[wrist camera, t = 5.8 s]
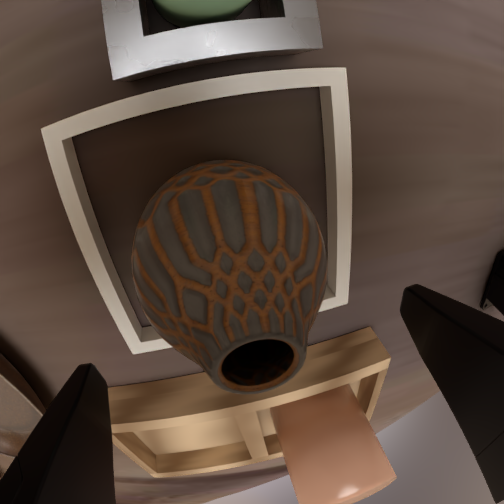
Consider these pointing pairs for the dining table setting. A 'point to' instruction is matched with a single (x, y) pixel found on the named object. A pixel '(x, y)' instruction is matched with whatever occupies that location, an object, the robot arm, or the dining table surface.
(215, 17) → the button
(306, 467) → the block
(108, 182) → the dining table surface
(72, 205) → the white square frame
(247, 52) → the button housing
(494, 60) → the dining table surface
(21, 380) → the plant saucer
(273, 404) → the pallet
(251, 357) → the vase
